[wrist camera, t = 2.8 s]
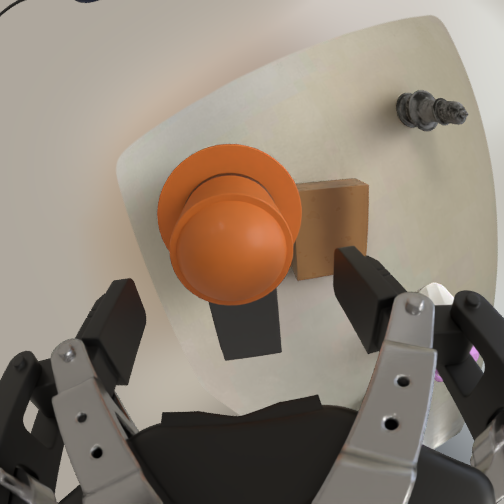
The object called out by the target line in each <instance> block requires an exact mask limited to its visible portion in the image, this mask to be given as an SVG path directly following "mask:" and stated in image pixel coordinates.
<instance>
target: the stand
mask: <svg viewBox="0 0 504 504" xmlns="http://www.w3.org/2000/svg"><path fill="white" fill-rule="evenodd" d="M295 185H296V187H297V189H298V192H299V195H300V199H301V206H302V218H301V226H300V229H299V233H298V236H297V238H296V241H295V243H294V244H293V258H292V262H291V267H292V269H293V272H294V274H295V276H296V278H297V281H299V280H305V279H311V278H317V277H323V276H328V275H334V251H335V249H336V248H341V247H348V246H355V247H356V248H357V249H358V250H359V251H360V252H361V253H362V254H363V255H364V256H366V251H367V234H368V206H369V185H368V184H366V183H364V182H362V181H360V180H357V179H342V180H331V181H320V182H310V183H300V184H295Z"/></svg>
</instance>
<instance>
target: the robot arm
mask: <svg viewBox="0 0 504 504" xmlns="http://www.w3.org/2000/svg"><path fill="white" fill-rule="evenodd" d="M22 1H24V0H18V1H16V2H14V3H12V4H11V5H9V6H8V7H7V8H5V9H4V10H3V11H2V12H1V13H0V16H1V15H2V14H3V13H5V12H6V11H7V10H9V9H10V8H12V7H13V6H15V5H16V4H18V3H20V2H22ZM333 287H334V292H335V296H336V298H337V300H338V301H339V303H340V305H341V307H342V308H343V310H344V312H345V314H346V315H347V317H348V319H349V321H350V322H351V324H352V326H353V328H354V329H355V331H356V333H357V335H358V337H359V338H360V340H361V342H362V344H363V346H364V348H365V349H366V351H367V353H368V354H370V353H373V352H377V351H379V352H380V353H379V356H378V359H377V362H376V365H375V368H374V371H373V374H372V377H371V380H370V383H369V386H368V388H367V391H366V394H365V396H364V399H363V402H362V404H361V407H360V409H359V412H358V411H356V410H353V409H350V408H346V407H341V406H335V405H321V402H320V399H319V396H318V395H314V396H309V397H305V398H300V399H295V400H289V401H284V402H279V403H276V404H274V405H271V406H268V407H266V408H263V409H260V410H257V411H255V412H252V413H249V414H246V415H243V416H227V415H220V414H213V413H206V412H200V411H196V412H195V411H194V412H163V413H162V420H161V423H159V424H156V425H153V426H150V427H148V428H146V429H143V430H142V431H140V432H139V430H138V429H137V427H136V426H135V424H134V423H133V421H132V420H131V418H130V416H129V414H128V413H127V411H126V409H125V407H124V406H123V404H122V402H121V400H120V398H119V397H118V395H117V393H116V392H115V391H114V390H115V387H116V385H128V383H129V379H130V375H131V372H132V368H133V365H134V361H135V358H136V354H137V351H138V348H139V344H140V341H141V338H142V335H143V331H144V328H145V325H146V313H145V310H144V307H143V304H142V302H141V299H140V297H139V294H138V291H137V289H136V286H135V283H134V281H133V280H132V279H131V278H128V279H121V280H114V281H113V282H112V284H111V285H110V287H109V289H108V290H107V292H106V294H104V295H102V296H101V297H100V298H99V299H98V300H97V301H96V302H95V304H94V306H93V307H92V309H91V311H90V312H89V314H88V316H87V318H86V319H85V321H84V323H83V325H82V327H81V328H80V331H79V332H78V334H77V336H76V337H75V339H68V340H66V341H64V342H62V343H60V344H59V345H58V346H57V347H56V348H55V349H54V350H53V352H52V354H51V358H50V359H46V360H42V361H38V360H37V359H36V357H35V356H34V354H33V353H32V352H30V351H24V352H21V353H19V354H17V355H16V356H15V357H14V358H13V359H12V360H11V361H10V363H9V365H8V367H7V369H6V371H5V372H4V374H3V376H2V378H1V380H0V504H497V503H498V502H499V501H501V500H502V499H503V498H504V318H503V317H502V316H501V315H500V314H499V313H498V312H497V310H496V309H495V308H494V307H493V306H492V305H491V304H490V303H489V302H488V301H487V300H486V299H485V298H484V297H483V296H481V295H480V294H478V293H476V292H473V291H467V290H465V291H460V292H458V293H457V294H456V295H455V297H454V300H453V303H452V305H434V303H433V302H432V300H431V299H430V298H428V297H427V296H425V295H423V294H421V293H417V292H407V291H406V290H405V289H404V288H403V287H402V285H401V284H400V283H399V282H398V281H397V280H396V279H395V278H394V277H393V276H392V275H390V273H389V272H388V271H387V270H386V269H385V267H384V266H383V265H382V264H381V263H380V262H379V261H377V260H375V259H373V258H371V257H369V256H364V255H363V254H362V253H361V252H360V251H359V250H358V249H357V248H356V247H355V246H348V247H341V248H336V249H335V251H334V276H333ZM473 346H474V347H475V349H476V350H477V351H478V353H479V354H480V355H481V357H482V358H483V360H484V363H485V371H484V373H483V372H482V370H481V369H480V367H479V366H478V364H477V363H476V361H475V360H474V358H473V357H472V356H471V354H470V351H471V349H472V347H473ZM436 370H437V371H438V373H439V375H440V376H441V378H442V380H443V382H444V383H445V385H446V387H447V389H448V391H449V392H450V394H451V396H452V398H453V400H454V401H455V403H456V405H457V407H458V409H459V411H460V413H461V415H462V417H463V419H464V421H465V423H466V425H467V427H468V428H469V431H470V433H471V435H472V437H473V439H474V444H473V447H472V456H471V459H470V463H471V466H470V465H468V464H465V463H463V462H460V461H458V460H456V459H453V458H451V457H449V456H446V455H444V454H442V453H440V452H437V451H435V450H433V449H431V448H429V447H427V446H425V445H422V442H423V438H424V434H425V430H426V425H427V421H428V416H429V411H430V405H431V400H432V393H433V387H434V379H435V371H436ZM29 400H31V402H32V403H33V404H34V405H35V406H36V407H37V408H38V409H39V410H38V413H37V416H36V419H35V422H34V425H33V428H32V431H31V433H29V432H28V431H27V430H26V428H25V426H24V424H23V416H24V413H25V411H26V408H27V405H28V403H29ZM64 445H65V447H66V451H67V453H68V456H69V458H70V461H71V464H72V467H73V469H74V472H75V473H76V476H77V479H78V481H79V483H80V485H78V486H77V487H76V488H75V489H74V490H73V491H72V492H71V493H69V494H68V495H67V496H66V497H65V498H63V499H62V500H61V501H60V502H59V503H58V502H56V498H55V488H56V482H57V476H58V471H59V465H60V461H61V456H62V451H63V447H64Z"/></svg>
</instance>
